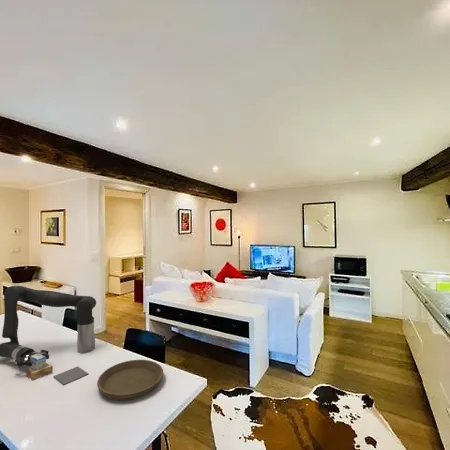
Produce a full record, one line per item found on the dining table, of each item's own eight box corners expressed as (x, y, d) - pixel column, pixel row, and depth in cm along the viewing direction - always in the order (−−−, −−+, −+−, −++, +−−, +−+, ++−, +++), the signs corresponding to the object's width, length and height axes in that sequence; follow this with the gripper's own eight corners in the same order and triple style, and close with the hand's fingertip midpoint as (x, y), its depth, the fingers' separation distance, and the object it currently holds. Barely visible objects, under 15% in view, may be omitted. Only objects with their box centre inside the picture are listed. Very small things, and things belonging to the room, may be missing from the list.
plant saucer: (175, 377, 135) (175, 369, 135) (126, 413, 108) (126, 402, 109) (135, 362, 151) (135, 354, 151) (83, 390, 124) (83, 380, 124)
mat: (77, 367, 144) (77, 366, 144) (88, 374, 137) (88, 373, 137) (53, 377, 134) (53, 376, 134) (63, 385, 127) (63, 384, 127)
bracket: (46, 367, 144) (46, 361, 144) (52, 372, 139) (52, 365, 139) (26, 374, 136) (26, 368, 136) (32, 380, 131) (32, 373, 131)
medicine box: (29, 372, 139) (29, 356, 139) (38, 368, 143) (38, 352, 143) (36, 376, 135) (37, 359, 135) (46, 372, 139) (46, 356, 139)
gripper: (8, 352, 139) (25, 359, 132) (37, 342, 152) (53, 348, 145) (7, 367, 139) (24, 374, 132) (36, 355, 152) (53, 361, 145)
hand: (40, 360), depth 138 cm, fingers open, 8 cm apart
